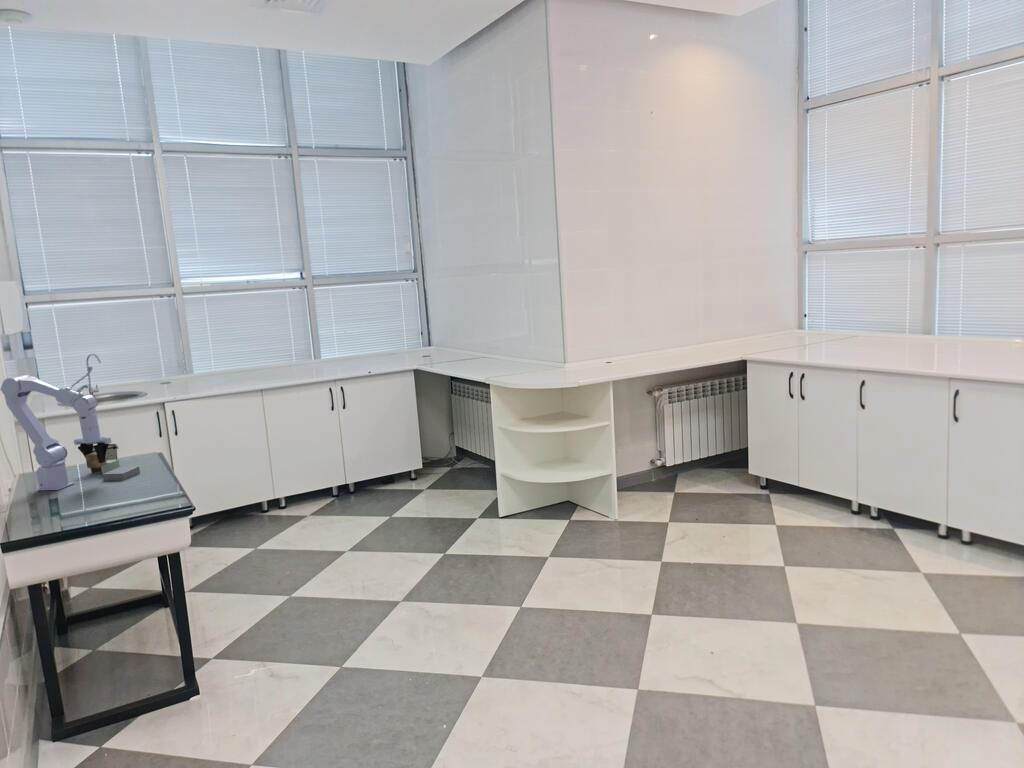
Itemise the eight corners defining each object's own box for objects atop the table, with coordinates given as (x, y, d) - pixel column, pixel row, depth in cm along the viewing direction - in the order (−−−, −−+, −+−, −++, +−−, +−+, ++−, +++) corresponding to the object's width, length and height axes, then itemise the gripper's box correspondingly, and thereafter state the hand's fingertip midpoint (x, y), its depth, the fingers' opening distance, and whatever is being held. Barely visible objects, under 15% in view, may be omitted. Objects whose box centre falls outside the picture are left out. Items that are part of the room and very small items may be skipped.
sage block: (102, 475, 284) (100, 463, 283) (110, 471, 288) (108, 459, 288) (112, 475, 283) (110, 462, 282) (120, 471, 287) (118, 459, 287)
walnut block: (87, 468, 268) (85, 455, 267) (96, 464, 272) (94, 451, 271) (97, 467, 267) (95, 454, 266) (106, 464, 271) (104, 451, 270)
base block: (103, 481, 276) (102, 474, 275) (120, 474, 284) (119, 467, 284) (124, 481, 274) (122, 473, 273) (140, 473, 283) (139, 466, 282)
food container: (118, 465, 298) (114, 441, 297) (122, 467, 294) (117, 443, 292) (85, 472, 291) (80, 448, 289) (88, 475, 286) (83, 450, 284)
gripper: (64, 430, 265) (71, 466, 267) (98, 429, 262) (105, 465, 264) (79, 426, 271) (86, 460, 274) (112, 424, 268) (119, 459, 271)
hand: (96, 462), depth 269 cm, fingers closed on walnut block, 4 cm apart
